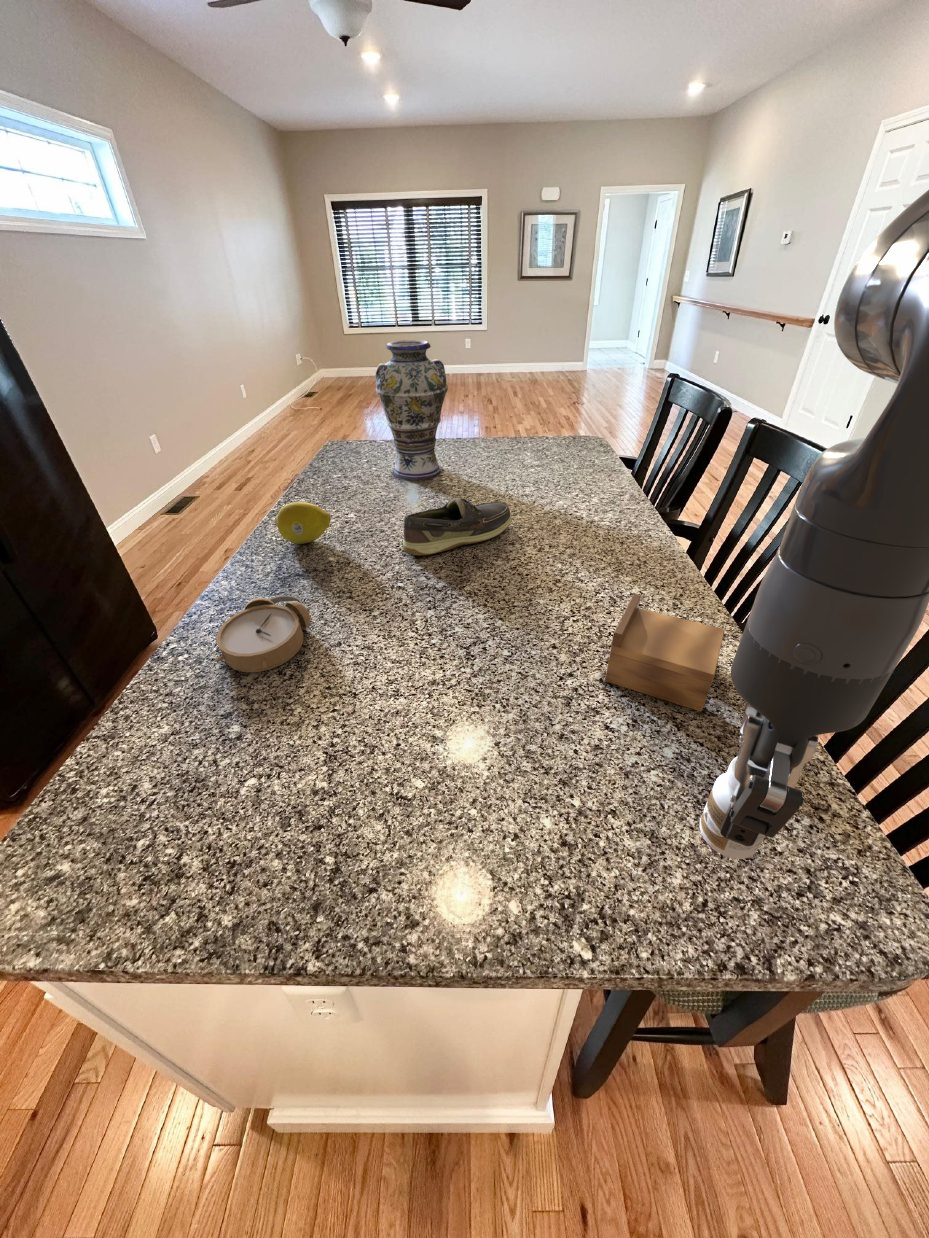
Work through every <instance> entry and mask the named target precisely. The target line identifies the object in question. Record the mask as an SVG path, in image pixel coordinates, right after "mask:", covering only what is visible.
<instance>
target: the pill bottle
mask: <svg viewBox="0 0 929 1238" xmlns="http://www.w3.org/2000/svg"><path fill="white" fill-rule="evenodd" d="M736 756H737V755H736ZM737 757H738V756H737ZM737 757H734V758H733V759H732V760H731V761H730V764H729V765H728V768H727V771H726V772H724V773H722V774H720V775H719V776H718V777H717V778H716V780H715V781H714V783H713V786H712V789H711V791H710V793H709V796H708V798H707V801H706V803H705V806H704V809H703V812H702V814H701V816H700V819H699V831H700V834H701V836H702V837H703V839H704V841H705V842H706V843H707V845H708V846H709V847H710V848H712V849H713V850H714V851H715V852H716V853H718V854H720V855H721V856H724V857H726V858H730V859H734V860H744V859H749V858H751V857H752V856H754V855H755V854H756V853H757V852H758V850H759V848H760V847H761V846H762V843H763V841H764V840H765V837H766V836H765V835H762V834H759V835H758V837H757V839H756V841H755V843H754V845H752V846H748V847H747V846H744V845H742V844H739V843H737V842H734V841H732V840H729V839H727V838H725V837H723V836H722V835H721V833H720V831H721V824H722V822H723V819H724V817H725V815H726V813H727V810H728V808H729V806H730V804H731V802H730V798H731V795H733V794H734V791H735V788H736V786H737V783H738V781H737V780H736V778H735V776H734V774H735V763H736V760H737ZM748 764H749V765H750V766H752V767H755V768H758V769H761V770H764V771H767V769H765V768H762V767H759V766H757V765H755V764H754V763H753V762H752V761H751V760H749V761H748Z"/></svg>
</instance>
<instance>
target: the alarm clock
mask: <svg viewBox="0 0 929 1238" xmlns="http://www.w3.org/2000/svg"><path fill="white" fill-rule="evenodd" d="M282 602H286V603H285V604H284V605H281V604H277V603H282ZM310 611H311V608H310V607H306V606H305V605H304V604H303V601H302V599H300V598H299V597H297V596H293V595H278V596H274V597H271V598H266V597H255V598H252V599H251V600H249V601H248V602H247V604H246V605H245V607H244V610H241V611H239V612H237V613H235V614H234V615H232V616H230V617H229V618H228V619H227V620H225V622H223V623H222V625H221V626H220V627H219V629H218V630H217V633H216V640H215V641H216V644H217V646H218V648H219V651H220V652H221V655H220V656H218V657H217V658H216V659H215V662H216V663H219V662H222V661H224V662H225V664H226V665H227V666H228V667H230V668H232V670H234V671H238V672H242V673H260V672H264V671H270V670H272V669H274V668H277V667H280V666H283V664H285V663H286V662H288V661H289V660H291V659H293V658H294V656H296V654H297V653H298V652H300V650H301V648H302V645H303V644H304V632H303V630H306V629H307V628H308V627H309V626H310V624H311V620H312V619H311V614H310Z"/></svg>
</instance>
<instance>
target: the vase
mask: <svg viewBox="0 0 929 1238" xmlns="http://www.w3.org/2000/svg"><path fill="white" fill-rule="evenodd" d="M431 347H432V346H431V343H430V342H429V341H427V340H422V339H421V340H419V339H403V340H394V341H389V342H387V344H386V346H385V348H386V350H387V351H390V353H391V358H390V359H389V361H388V362H380V363H379V364H378V365H377V367H376V370H375V375H374V376H375V377H374V378H375V386H376V388H375V393H376V395H377V396H378V399H379V401H380V404H381V407H382V409H383V411H384V415H385V418H386V424H387V426H388V427H389V429H390V432H391V435H392V438H393V444H394V447H395V452H396V458H395V464H394V470H393V474H394V476H396V477H397V478H399V479H403V480H412V481H413V480H414V481H415V480H416V481H417V480H425V479H430V478H434V477H436V476H438V475H439V474H440V473H441V470H442V469H441V467H440V466H439V462H438V459H437V455H436V451H435V450H436V449H435V448H436V442H437V438H436V437H437V431H438V427H439V425H440V423H441V422H442V419H441V416H442V415H441V414H442V410H443V405H444V401H445V398H446V395H447V393H448V390H449V386H448V384H447V382H448V381H447V375H446V369H445V365H444V363H443V362H442V360H441V359H439V358H435V359H430V358H429V357H427V351H428V349H430V348H431Z"/></svg>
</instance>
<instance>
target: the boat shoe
mask: <svg viewBox="0 0 929 1238" xmlns="http://www.w3.org/2000/svg"><path fill="white" fill-rule="evenodd" d="M512 521H513V518H512V513H511V509H510V507H509V506H508V504H507V503H505V502H503V501H494V502H493V501H492V502H486V503H479V504H478V503H477V504H475V505H474V504H473V502H472V501H470V500H467V499H465V498H463V497H455V498H451V499H450V500H449V501H448V502H446V503H445V504H444V505H443V506H441V507H437V508H432V509H431V508H430V509H426V510H424V511H423V510H422V511H418V512H412V513H410V514H407V515H404V517H403V525H402V526H403V530H402V531H403V538H402V549H403V551H404V552H406V553H407V554H410V555H412V556H430V555H434V554H438V553H442V552H445V551H446V552H447V551H449V550H452V549H455V548H458V547H461V546H466V545H473V544H477V543H481V542H485V541H488V540H490V539H494V538H495V537H497V536H500V535H501V534H502V533H504V532H505V531H506V530H507V529H508V528H509V526H510V525H511V524H512Z"/></svg>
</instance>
